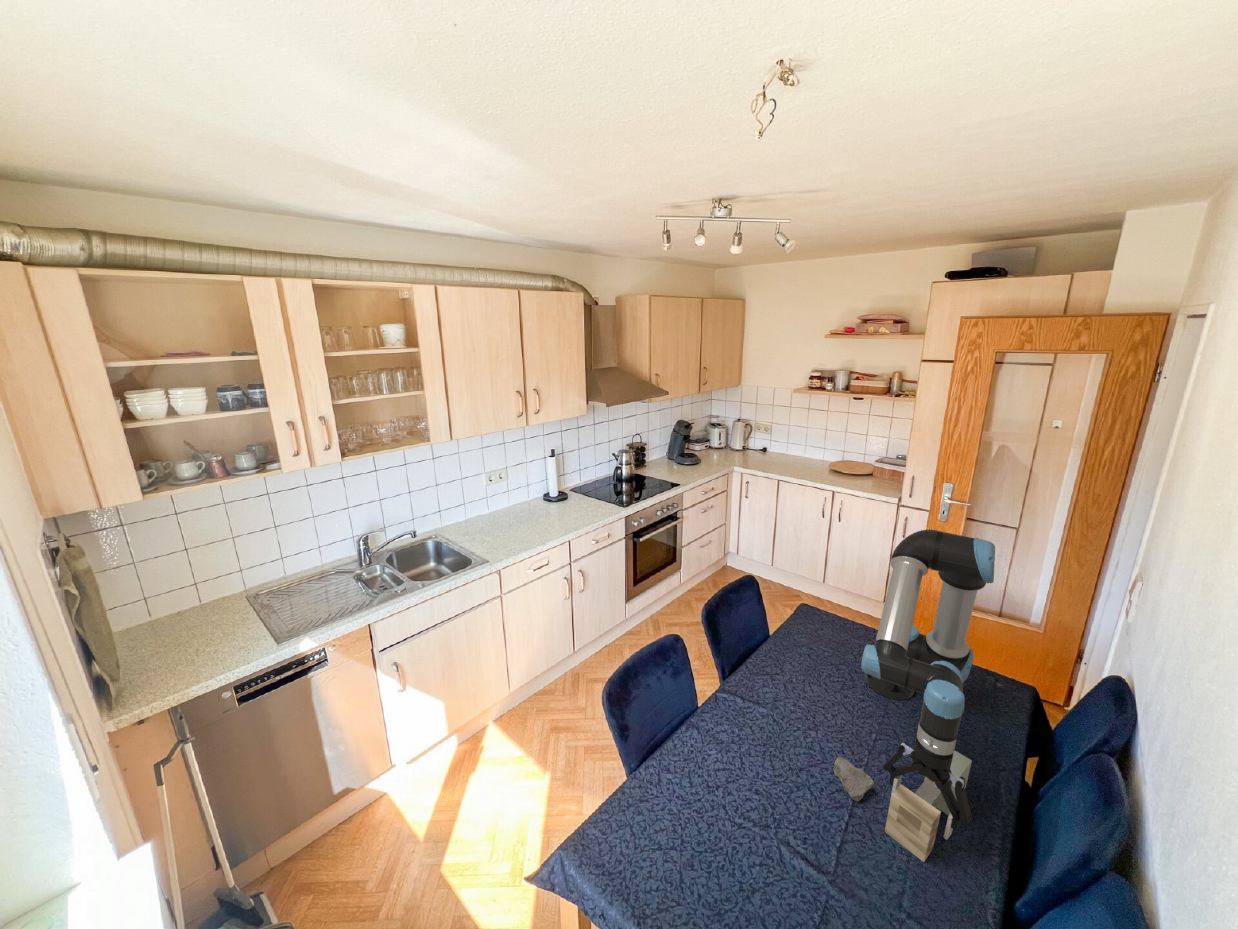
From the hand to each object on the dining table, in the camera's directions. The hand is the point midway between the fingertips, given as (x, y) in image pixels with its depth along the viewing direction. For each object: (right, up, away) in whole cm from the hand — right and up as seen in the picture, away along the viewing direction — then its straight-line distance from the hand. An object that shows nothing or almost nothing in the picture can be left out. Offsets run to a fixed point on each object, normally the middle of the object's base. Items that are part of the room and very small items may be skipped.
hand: (919, 815), depth 120 cm
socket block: (-4, -5, -2) cm, 6 cm away
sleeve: (+12, -2, +10) cm, 16 cm away
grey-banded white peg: (+3, +2, +2) cm, 4 cm away
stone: (-11, -1, +13) cm, 17 cm away
